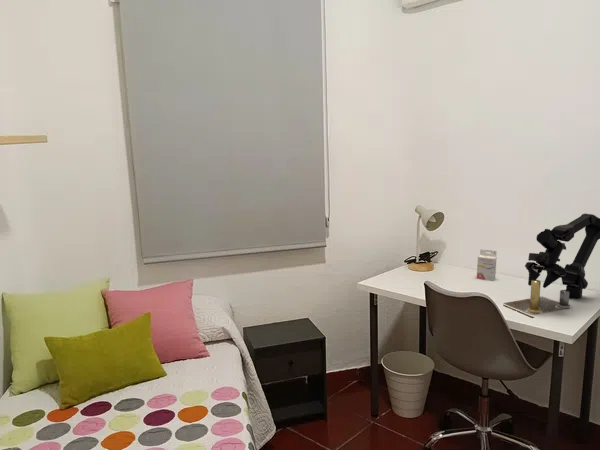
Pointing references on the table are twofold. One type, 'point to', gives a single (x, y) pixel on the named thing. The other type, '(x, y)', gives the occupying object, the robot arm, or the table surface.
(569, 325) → the table surface
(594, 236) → the robot arm
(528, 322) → the table surface
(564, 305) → the fixed pin
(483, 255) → the ink cartridge box
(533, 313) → the brown flat sheet
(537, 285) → the brass pin
